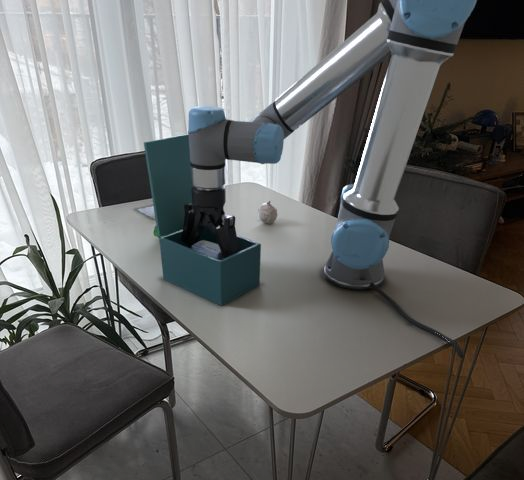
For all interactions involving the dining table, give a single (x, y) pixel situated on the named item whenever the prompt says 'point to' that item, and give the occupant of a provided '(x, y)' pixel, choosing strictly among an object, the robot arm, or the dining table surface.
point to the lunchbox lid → (169, 180)
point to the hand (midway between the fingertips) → (210, 277)
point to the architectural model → (148, 211)
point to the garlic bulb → (267, 213)
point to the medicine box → (208, 249)
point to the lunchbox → (210, 267)
